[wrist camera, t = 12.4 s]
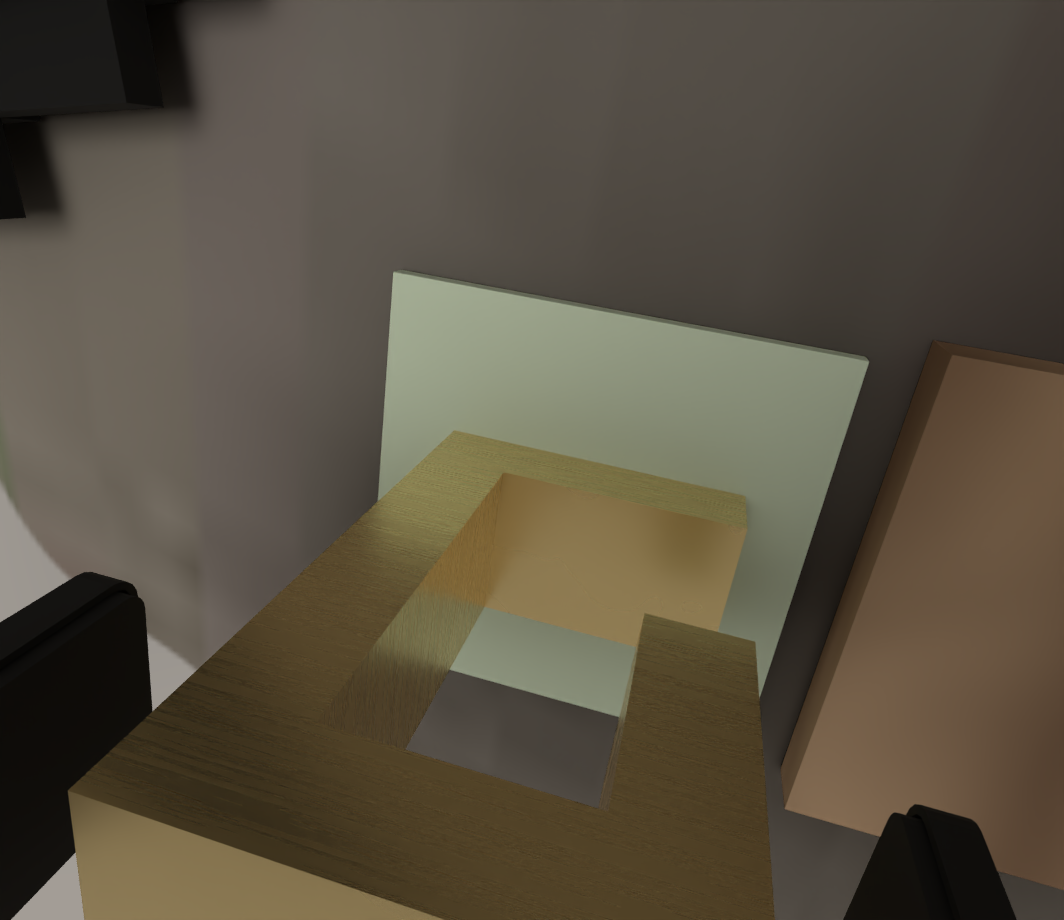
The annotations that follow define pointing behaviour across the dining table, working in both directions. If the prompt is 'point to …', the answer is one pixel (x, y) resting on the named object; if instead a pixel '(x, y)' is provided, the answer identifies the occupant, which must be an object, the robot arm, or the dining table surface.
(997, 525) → the stand
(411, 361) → the pad
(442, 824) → the c link
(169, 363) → the dining table surface
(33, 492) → the dining table surface
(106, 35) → the toy sword
